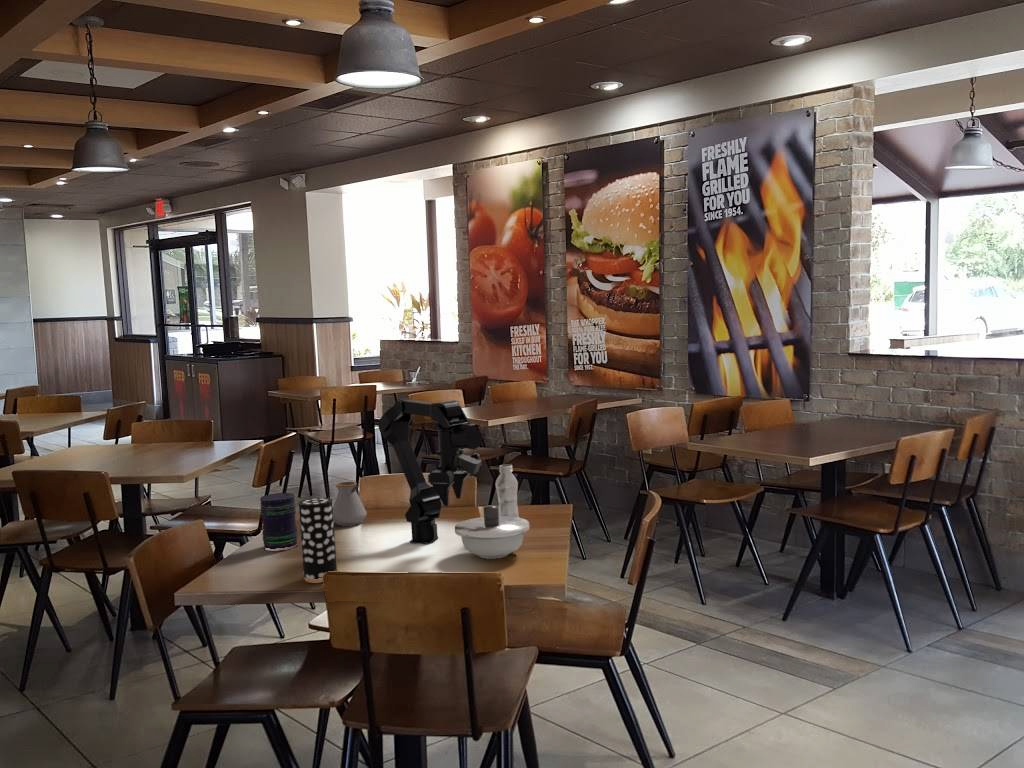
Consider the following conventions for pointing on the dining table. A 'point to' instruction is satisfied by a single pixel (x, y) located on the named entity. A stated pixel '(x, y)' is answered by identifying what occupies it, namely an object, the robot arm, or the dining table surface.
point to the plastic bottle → (507, 491)
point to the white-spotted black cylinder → (317, 537)
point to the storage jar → (279, 520)
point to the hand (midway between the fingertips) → (452, 502)
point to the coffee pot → (348, 505)
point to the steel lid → (492, 525)
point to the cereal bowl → (493, 546)
